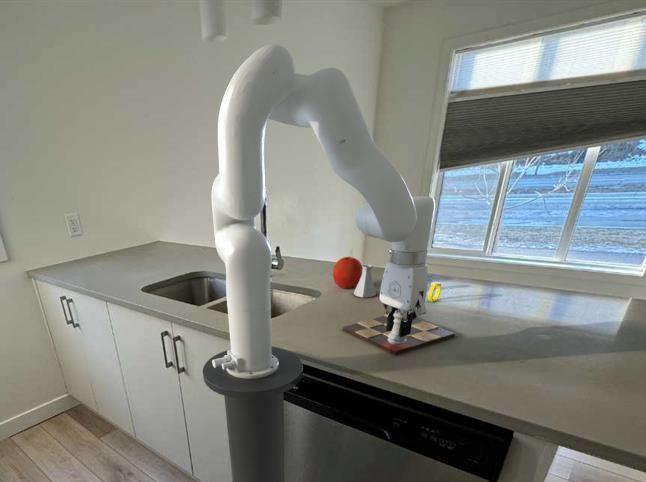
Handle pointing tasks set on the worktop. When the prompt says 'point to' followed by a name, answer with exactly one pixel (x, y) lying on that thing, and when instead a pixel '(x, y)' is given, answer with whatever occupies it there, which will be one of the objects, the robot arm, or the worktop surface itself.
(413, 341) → the board
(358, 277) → the apple
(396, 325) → the rook chess piece
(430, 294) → the yellow ring
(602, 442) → the worktop surface
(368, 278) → the flask
